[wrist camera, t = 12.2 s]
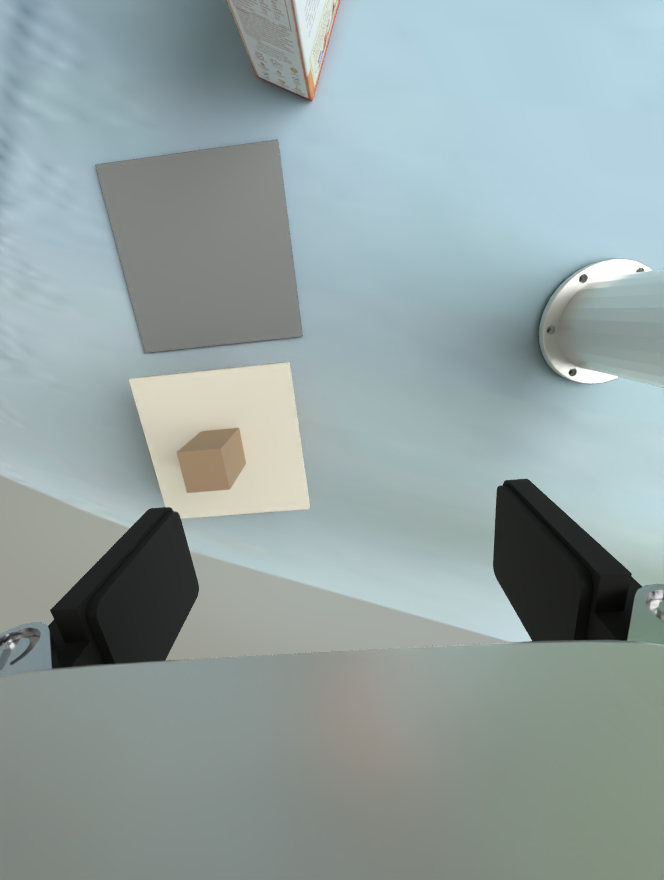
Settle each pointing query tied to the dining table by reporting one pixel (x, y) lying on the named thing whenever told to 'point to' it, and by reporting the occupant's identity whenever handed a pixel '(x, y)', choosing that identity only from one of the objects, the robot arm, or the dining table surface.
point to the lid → (224, 440)
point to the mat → (205, 245)
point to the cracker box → (286, 39)
